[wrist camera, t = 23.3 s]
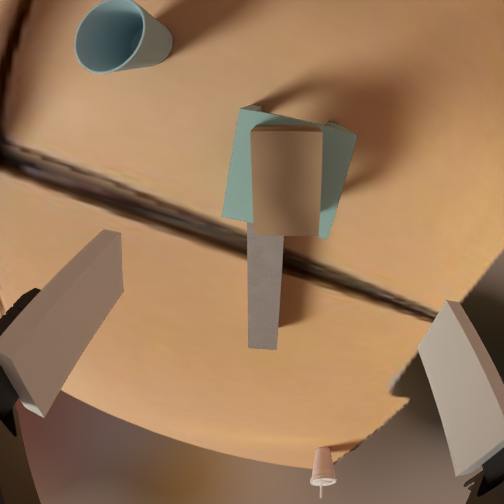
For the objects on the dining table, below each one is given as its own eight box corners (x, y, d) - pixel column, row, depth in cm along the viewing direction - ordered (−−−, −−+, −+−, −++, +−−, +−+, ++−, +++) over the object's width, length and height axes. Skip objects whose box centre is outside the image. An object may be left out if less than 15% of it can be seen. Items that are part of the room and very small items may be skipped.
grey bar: (251, 324, 48) (248, 348, 44) (252, 167, 36) (247, 178, 32) (278, 326, 48) (276, 349, 43) (286, 168, 36) (286, 180, 32)
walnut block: (258, 213, 29) (253, 235, 25) (255, 125, 25) (250, 131, 21) (314, 214, 28) (318, 236, 24) (316, 125, 24) (322, 131, 20)
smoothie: (313, 444, 65) (313, 494, 53) (338, 444, 65) (340, 493, 53) (307, 454, 68) (306, 500, 56) (331, 454, 68) (332, 500, 56)
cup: (196, 40, 29) (162, 23, 20) (151, 87, 32) (106, 89, 23) (154, 5, 27) (111, -16, 18) (113, 52, 30) (62, 47, 21)
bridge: (236, 186, 37) (221, 216, 29) (251, 104, 32) (239, 108, 24) (318, 204, 37) (327, 239, 29) (339, 124, 32) (357, 135, 24)
